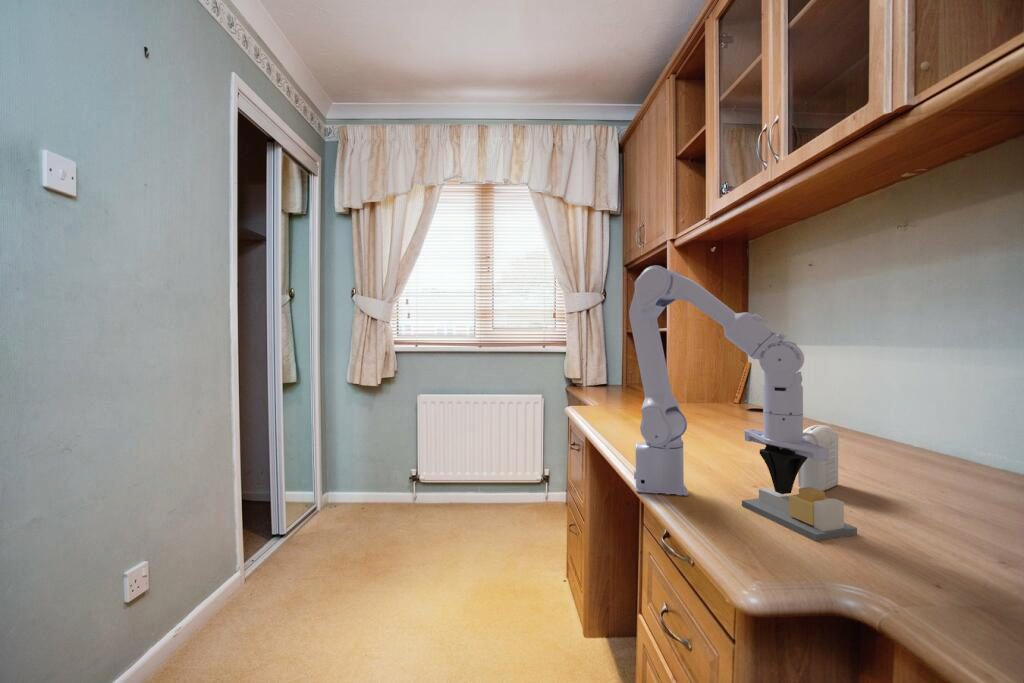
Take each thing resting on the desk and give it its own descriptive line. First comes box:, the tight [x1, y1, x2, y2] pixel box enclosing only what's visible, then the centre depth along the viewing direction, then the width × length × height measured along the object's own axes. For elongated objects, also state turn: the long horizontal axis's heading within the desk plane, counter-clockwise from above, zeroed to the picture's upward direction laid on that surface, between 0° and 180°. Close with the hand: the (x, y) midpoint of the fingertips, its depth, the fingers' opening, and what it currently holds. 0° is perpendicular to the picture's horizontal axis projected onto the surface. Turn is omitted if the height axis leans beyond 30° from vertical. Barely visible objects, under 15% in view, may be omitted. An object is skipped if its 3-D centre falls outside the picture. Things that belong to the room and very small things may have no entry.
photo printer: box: [797, 424, 839, 492], centre depth 86 cm, size 10×4×12 cm, turn 123°
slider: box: [788, 487, 828, 526], centre depth 68 cm, size 4×5×4 cm
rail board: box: [741, 487, 858, 542], centre depth 71 cm, size 14×8×5 cm, turn 15°
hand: (783, 492), depth 73 cm, fingers closed
